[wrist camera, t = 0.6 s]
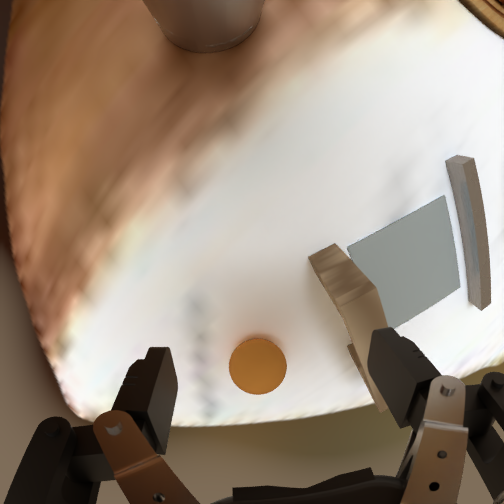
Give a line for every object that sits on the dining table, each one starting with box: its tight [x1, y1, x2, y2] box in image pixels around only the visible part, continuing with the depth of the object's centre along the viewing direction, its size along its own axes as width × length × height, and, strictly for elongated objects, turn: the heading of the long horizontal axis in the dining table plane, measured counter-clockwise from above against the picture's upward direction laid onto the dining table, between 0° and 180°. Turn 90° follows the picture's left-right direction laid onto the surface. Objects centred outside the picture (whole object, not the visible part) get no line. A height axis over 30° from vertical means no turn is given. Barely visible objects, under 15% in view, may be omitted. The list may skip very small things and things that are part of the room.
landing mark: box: [347, 195, 460, 329], centre depth 31 cm, size 13×13×1 cm
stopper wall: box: [445, 155, 491, 311], centre depth 29 cm, size 20×2×3 cm, turn 27°
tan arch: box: [308, 244, 388, 412], centre depth 28 cm, size 3×15×10 cm, turn 27°
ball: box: [229, 339, 287, 395], centre depth 30 cm, size 6×6×6 cm
